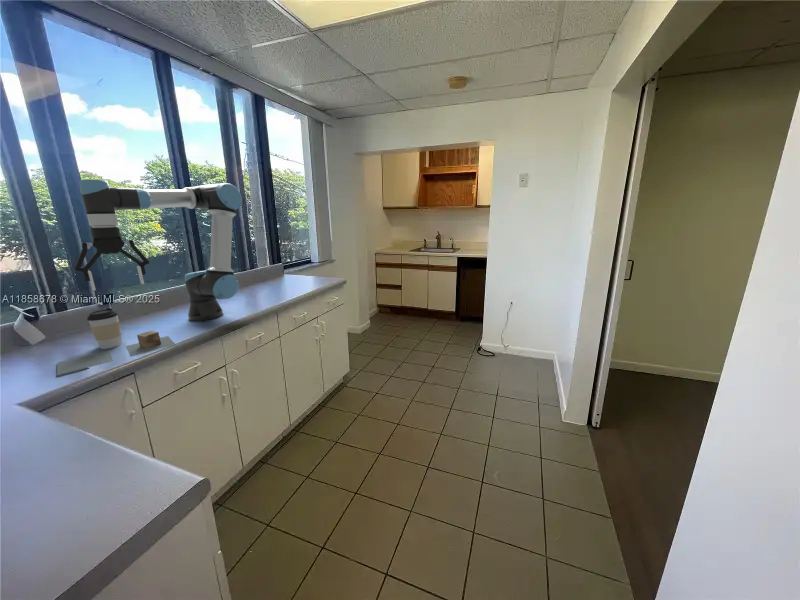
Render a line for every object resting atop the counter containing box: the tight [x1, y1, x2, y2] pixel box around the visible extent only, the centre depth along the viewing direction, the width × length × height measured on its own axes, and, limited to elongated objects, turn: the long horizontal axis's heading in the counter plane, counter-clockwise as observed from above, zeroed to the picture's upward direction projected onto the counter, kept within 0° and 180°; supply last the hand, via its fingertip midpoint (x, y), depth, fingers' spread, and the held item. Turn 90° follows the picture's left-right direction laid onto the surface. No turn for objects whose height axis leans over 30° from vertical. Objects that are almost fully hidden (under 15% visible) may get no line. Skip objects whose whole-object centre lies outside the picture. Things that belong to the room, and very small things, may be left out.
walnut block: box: [136, 330, 161, 349], centre depth 128 cm, size 5×5×5 cm
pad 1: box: [56, 349, 114, 377], centre depth 116 cm, size 14×14×1 cm
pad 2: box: [125, 335, 176, 357], centre depth 128 cm, size 14×14×1 cm
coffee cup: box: [87, 307, 123, 350], centre depth 128 cm, size 9×9×15 cm
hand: (119, 286), depth 119 cm, fingers open, 13 cm apart
